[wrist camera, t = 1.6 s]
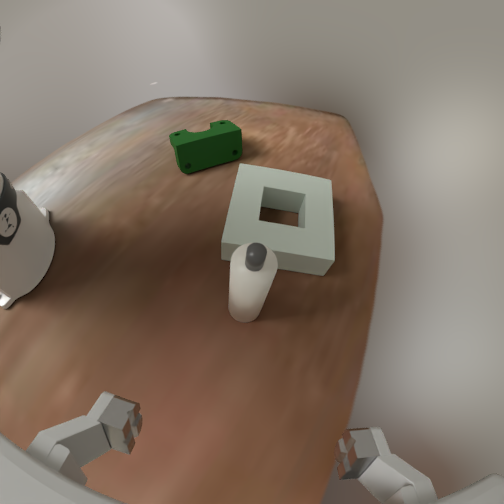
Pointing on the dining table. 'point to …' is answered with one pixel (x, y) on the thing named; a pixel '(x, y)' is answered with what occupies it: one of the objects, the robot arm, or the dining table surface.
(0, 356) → the dining table surface
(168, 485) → the dining table surface
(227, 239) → the housing
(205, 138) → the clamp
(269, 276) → the white bottle
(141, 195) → the dining table surface
